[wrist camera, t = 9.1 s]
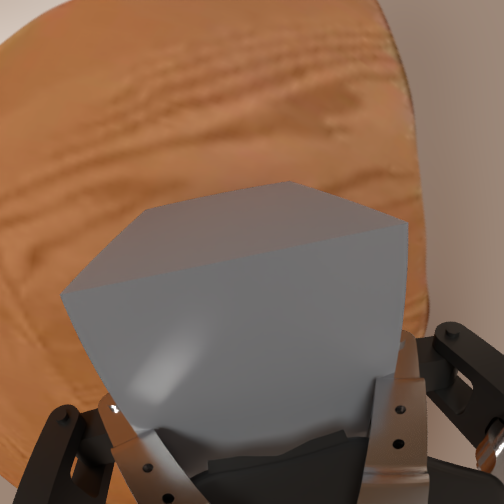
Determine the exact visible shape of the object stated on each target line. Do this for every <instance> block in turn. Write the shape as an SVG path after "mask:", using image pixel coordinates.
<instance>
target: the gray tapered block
mask: <svg viewBox="0 0 504 504" xmlns="http://www.w3.org/2000/svg"><path fill="white" fill-rule="evenodd" d="M407 261H408V222H405V221H403V220H400V219H398V218H395V217H393V216H390V215H387V214H385V213H382V212H380V211H377V210H374V209H371V208H369V207H366V206H363V205H360V204H358V203H355V202H352V201H349V200H346V199H343V198H341V197H338V196H335V195H332V194H329V193H326V192H323V191H320V190H316V189H313V188H310V187H307V186H304V185H301V184H298V183H294V182H291V181H287V182H281V183H275V184H269V185H263V186H257V187H252V188H246V189H241V190H235V191H230V192H225V193H220V194H215V195H210V196H205V197H200V198H196V199H191V200H186V201H182V202H177V203H173V204H168V205H164V206H160V207H155V208H151V209H147V210H145V211H144V212H143V213H142V214H140V215H139V216H138V217H137V218H136V219H135V220H134V221H133V222H132V223H131V224H129V225H128V226H127V227H126V228H125V229H124V230H123V231H122V232H121V233H120V234H119V235H118V236H117V237H116V238H114V239H113V240H112V241H111V242H110V243H109V244H108V245H107V246H106V247H105V248H104V249H103V250H102V251H101V252H100V253H99V254H98V255H97V256H96V257H95V258H94V259H93V260H92V261H91V262H90V263H89V264H88V265H87V266H86V267H85V268H84V269H83V270H82V271H81V272H80V273H79V274H78V275H77V277H76V278H75V279H74V280H73V281H72V282H71V283H70V284H69V285H68V286H67V287H66V288H65V289H64V290H63V292H62V293H61V294H60V296H61V299H62V301H63V304H64V306H65V308H66V311H67V313H68V315H69V317H70V320H71V322H72V324H73V326H74V328H75V331H76V333H77V335H78V337H79V339H80V341H81V343H82V345H83V347H84V349H85V351H86V353H87V355H88V356H89V358H90V360H91V362H92V364H93V366H94V368H95V369H96V371H97V373H98V375H99V376H100V378H101V380H102V382H103V383H104V385H105V387H106V388H107V390H108V392H109V393H110V395H111V396H112V398H113V400H114V401H115V403H116V404H117V406H118V407H119V409H120V410H121V412H122V413H123V415H124V416H125V418H126V419H127V421H128V422H129V424H130V425H131V426H132V428H133V429H134V431H138V430H150V429H152V428H153V429H154V430H155V432H156V433H157V435H158V436H159V438H160V439H161V441H162V442H163V444H164V445H165V446H166V448H167V449H168V451H169V452H170V453H171V455H172V456H173V457H174V459H175V460H176V461H177V463H178V464H179V465H180V467H181V468H182V469H183V470H184V472H185V473H186V474H187V476H188V477H189V478H191V477H193V476H195V475H196V474H199V473H201V472H203V471H206V470H208V462H207V461H209V460H217V459H224V458H231V457H237V456H278V455H281V454H284V453H286V452H288V451H290V450H292V449H294V448H296V447H298V446H300V445H302V444H304V443H306V442H308V441H309V440H312V439H315V438H318V437H322V436H325V435H328V434H331V433H334V432H337V431H340V430H344V432H345V434H346V436H347V437H365V435H366V430H367V425H368V422H369V417H370V412H371V406H372V400H373V393H374V387H375V380H376V378H381V377H384V376H386V375H389V374H391V373H394V372H395V369H396V363H397V358H398V351H399V345H400V338H401V331H402V323H403V314H404V305H405V293H406V280H407Z"/></svg>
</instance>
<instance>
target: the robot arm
mask: <svg viewBox="0 0 504 504" xmlns="http://www.w3.org/2000/svg"><path fill="white" fill-rule="evenodd" d="M458 370H459V371H460V372H461V373H462V374H463V375H464V376H465V377H467V378H468V379H469V380H470V381H471V383H472V385H473V390H472V388H471V387H469V386H468V385H467V384H466V383H465V382H464V381H463V380H462V379H461V378H459V376H457V373H458ZM426 395H427V396H428V397H429V398H430V399H431V400H432V401H433V402H434V403H435V404H436V405H437V406H438V408H439V409H440V410H441V411H442V412H443V413H444V414H445V415H446V416H447V417H448V418H449V420H450V421H451V422H452V423H453V424H454V425H455V426H456V427H457V428H458V429H459V430H460V432H461V433H462V434H463V435H464V436H465V437H466V438H467V439H468V440H469V442H470V443H471V444H472V445H473V446H474V447H475V448H476V460H477V464H476V465H477V468H478V470H475V469H471V468H467V467H463V466H459V465H456V464H452V463H449V462H445V461H442V460H438V459H435V458H432V457H429V456H427V402H426ZM75 456H76V457H77V458H78V460H77V463H76V467H75V470H74V473H73V476H72V479H71V476H70V471H71V467H72V464H73V461H74V458H75ZM114 462H116V463H117V465H118V467H119V469H120V471H121V473H122V475H123V477H124V479H125V481H126V483H127V485H128V487H129V489H130V491H131V492H132V494H133V496H134V498H135V499H136V501H137V503H138V504H504V355H503V354H501V353H500V352H499V351H497V350H496V349H495V348H494V347H492V346H491V345H490V344H488V343H487V342H486V341H484V340H483V339H481V338H480V337H479V336H477V335H476V334H475V333H473V332H472V331H470V330H469V329H467V328H466V327H465V326H463V325H462V324H459V323H456V322H445V323H442V324H440V325H438V326H437V328H436V330H435V334H434V336H431V337H424V338H415V337H414V336H413V335H412V334H411V333H410V332H408V331H405V330H402V331H401V338H400V345H399V351H398V358H397V363H396V369H395V372H394V373H391V374H389V375H386V376H384V377H381V378H376V380H375V387H374V393H373V400H372V406H371V412H370V417H369V422H368V425H367V430H366V435H365V437H347V436H346V434H345V432H344V430H340V431H337V432H334V433H331V434H328V435H325V436H322V437H318V438H315V439H312V440H309V441H308V442H306V443H304V444H302V445H300V446H298V447H296V448H294V449H292V450H290V451H288V452H286V453H284V454H281V455H278V456H237V457H231V458H224V459H217V460H209V461H207V462H208V470H206V471H203V472H201V473H199V474H196V475H195V476H193V477H191V478H189V477H188V476H187V474H186V473H185V472H184V470H183V469H182V468H181V467H180V465H179V464H178V463H177V461H176V460H175V459H174V457H173V456H172V455H171V453H170V452H169V451H168V449H167V448H166V446H165V445H164V444H163V442H162V441H161V439H160V438H159V436H158V435H157V433H156V432H155V430H154V429H153V428H152V429H150V430H138V431H134V429H133V428H132V426H131V425H130V424H129V422H128V421H127V419H126V418H125V416H124V415H123V413H122V412H121V410H120V409H119V407H118V406H117V404H116V403H115V401H114V400H113V398H112V396H111V395H110V393H107V394H106V395H104V396H103V397H102V399H101V400H100V401H99V404H98V408H97V409H94V410H91V411H87V412H84V413H80V412H79V411H78V410H77V408H76V407H75V406H73V405H62V406H60V407H58V408H56V409H55V410H54V411H52V413H51V414H50V416H49V417H48V419H47V422H46V424H45V426H44V428H43V430H42V432H41V434H40V436H39V439H38V441H37V443H36V445H35V448H34V450H33V452H32V454H31V457H30V459H29V462H28V464H27V466H26V469H25V471H24V474H23V476H22V479H21V482H20V484H19V487H18V490H17V493H16V495H15V498H14V501H13V504H105V503H106V498H107V494H108V489H109V484H110V480H111V475H112V471H113V467H114Z"/></svg>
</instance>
